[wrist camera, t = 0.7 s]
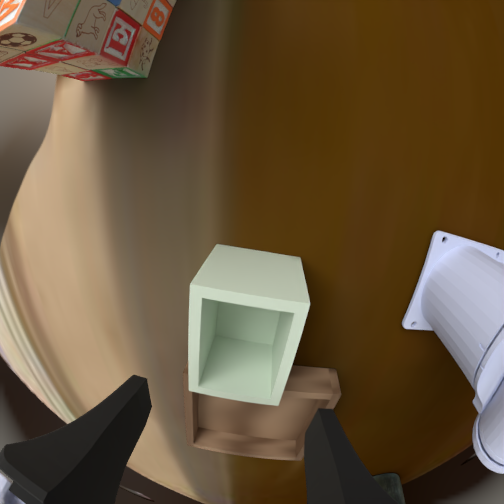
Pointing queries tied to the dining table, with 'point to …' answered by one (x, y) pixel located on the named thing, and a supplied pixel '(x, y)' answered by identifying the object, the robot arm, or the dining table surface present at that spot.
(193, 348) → the box
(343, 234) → the dining table surface
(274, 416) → the big crate
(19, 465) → the robot arm
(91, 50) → the stack of blocks
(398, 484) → the mug
